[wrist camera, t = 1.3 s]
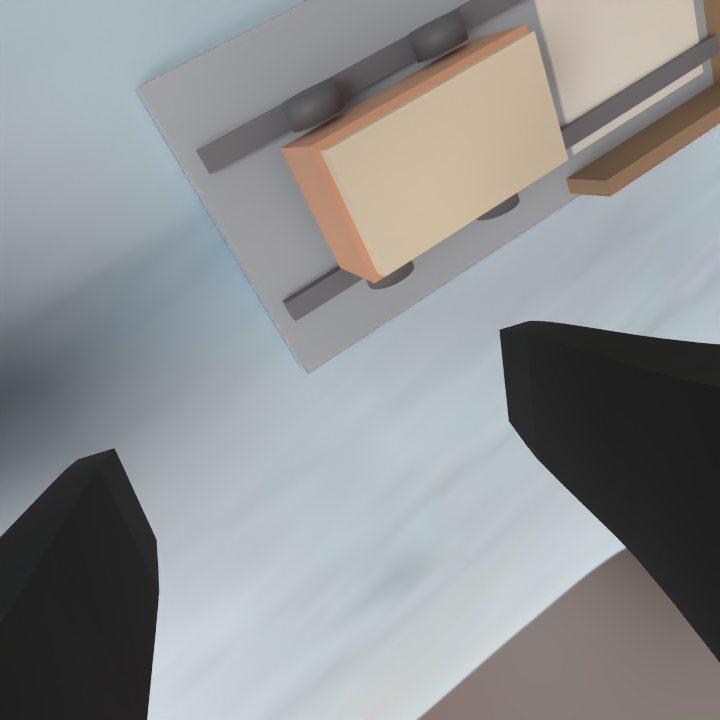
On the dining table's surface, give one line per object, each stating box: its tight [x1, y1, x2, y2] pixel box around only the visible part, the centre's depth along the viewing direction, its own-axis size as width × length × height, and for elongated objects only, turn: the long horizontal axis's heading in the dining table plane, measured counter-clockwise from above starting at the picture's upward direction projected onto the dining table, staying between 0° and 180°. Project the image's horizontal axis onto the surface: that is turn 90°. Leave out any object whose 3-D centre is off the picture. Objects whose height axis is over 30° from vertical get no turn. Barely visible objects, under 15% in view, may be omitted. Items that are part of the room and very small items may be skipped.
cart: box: [280, 9, 568, 289], centre depth 17 cm, size 6×7×4 cm
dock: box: [136, 0, 720, 374], centre depth 19 cm, size 10×21×3 cm, turn 117°
